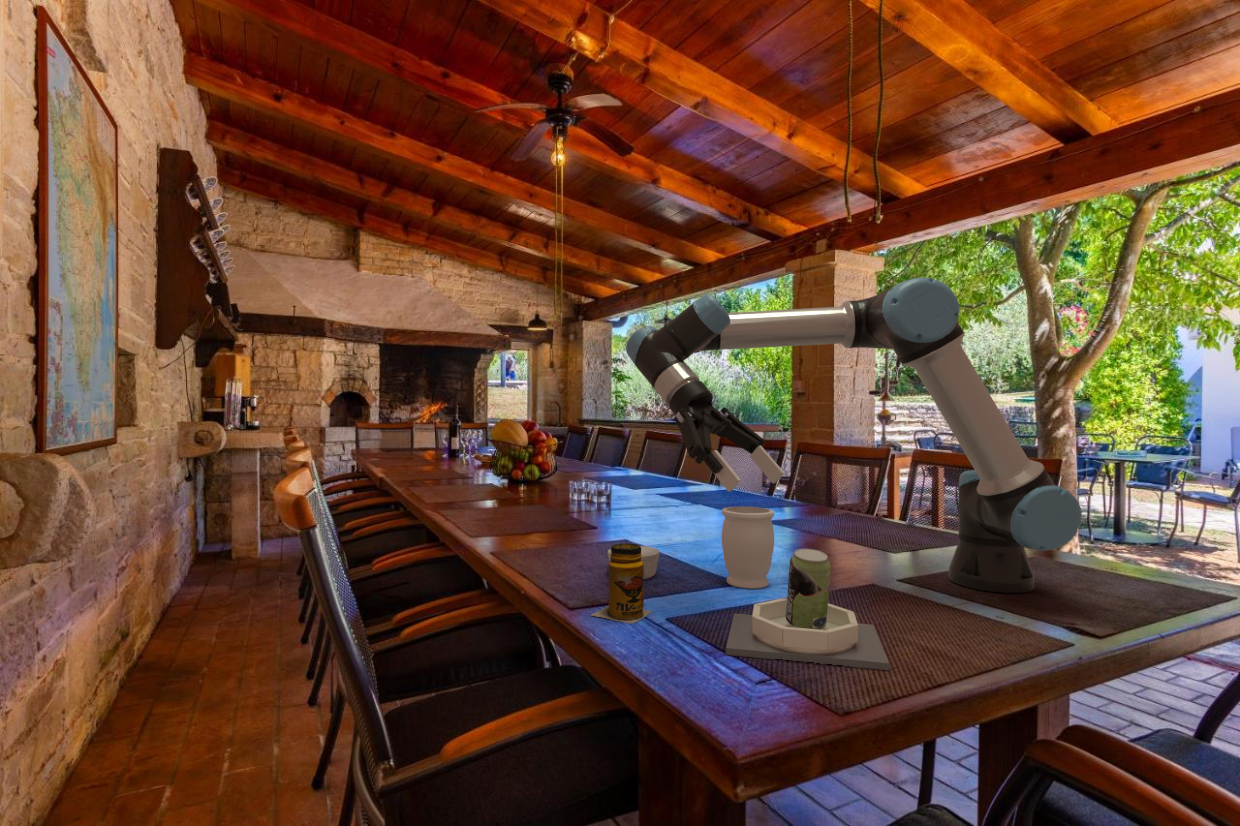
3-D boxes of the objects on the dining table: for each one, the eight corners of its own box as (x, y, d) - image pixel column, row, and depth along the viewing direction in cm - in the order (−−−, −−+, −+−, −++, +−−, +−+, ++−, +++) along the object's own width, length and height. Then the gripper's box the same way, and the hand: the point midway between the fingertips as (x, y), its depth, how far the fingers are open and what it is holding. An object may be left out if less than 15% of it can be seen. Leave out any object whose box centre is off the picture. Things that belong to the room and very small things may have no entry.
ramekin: (635, 565, 145) (636, 542, 145) (670, 576, 136) (670, 551, 136) (596, 574, 138) (596, 549, 138) (630, 585, 129) (630, 559, 129)
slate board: (873, 630, 103) (873, 624, 103) (889, 670, 87) (889, 663, 87) (734, 619, 108) (734, 613, 108) (725, 654, 93) (725, 647, 93)
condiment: (633, 624, 106) (634, 551, 105) (589, 616, 110) (590, 546, 110) (653, 612, 112) (653, 543, 112) (610, 604, 116) (611, 538, 116)
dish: (850, 623, 103) (850, 603, 103) (861, 659, 88) (861, 635, 88) (755, 616, 107) (755, 596, 107) (750, 648, 92) (750, 626, 92)
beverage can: (810, 619, 103) (810, 544, 103) (840, 634, 96) (841, 554, 96) (776, 623, 101) (776, 547, 100) (805, 639, 94) (805, 557, 94)
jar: (711, 580, 133) (711, 507, 133) (752, 574, 137) (752, 504, 137) (742, 593, 123) (742, 515, 123) (785, 587, 127) (785, 512, 127)
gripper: (712, 407, 127) (781, 489, 117) (627, 409, 109) (699, 505, 99) (735, 380, 124) (808, 461, 113) (650, 376, 106) (728, 473, 95)
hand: (757, 482), depth 106 cm, fingers open, 13 cm apart
